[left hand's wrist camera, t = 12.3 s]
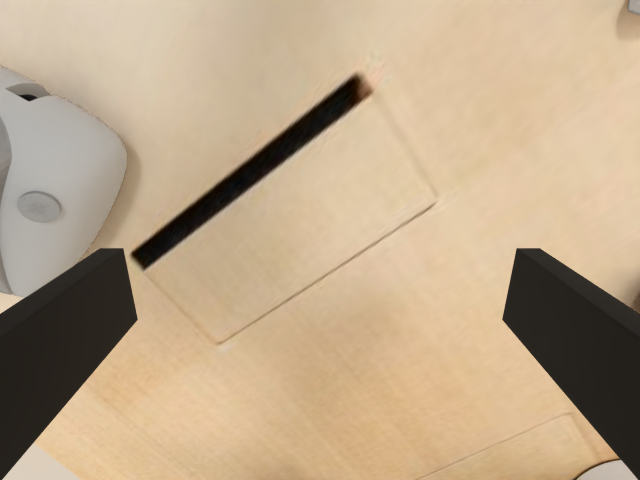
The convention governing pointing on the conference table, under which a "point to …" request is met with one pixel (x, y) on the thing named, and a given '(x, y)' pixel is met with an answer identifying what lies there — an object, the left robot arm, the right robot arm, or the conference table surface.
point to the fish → (634, 6)
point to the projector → (50, 182)
